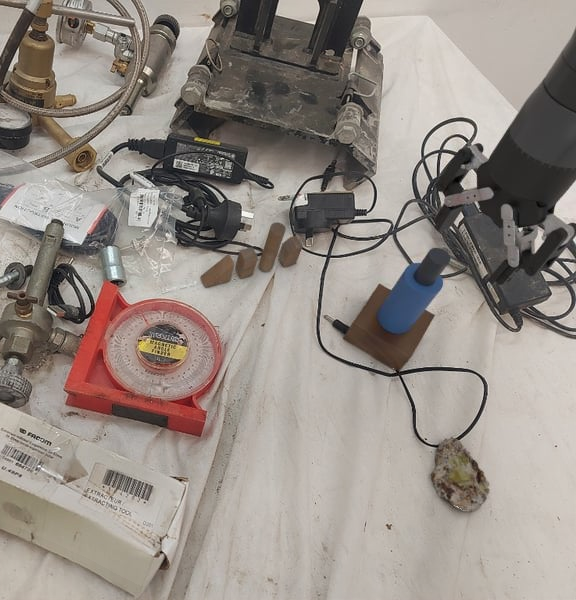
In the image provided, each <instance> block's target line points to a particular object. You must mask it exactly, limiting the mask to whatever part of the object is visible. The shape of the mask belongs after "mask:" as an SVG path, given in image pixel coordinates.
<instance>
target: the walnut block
mask: <svg viewBox="0 0 576 600" xmlns="http://www.w3.org/2000/svg"><path fill="white" fill-rule="evenodd" d="M391 290H392V289H391V288H388V287H387V286H385V285H383V284H382V283H378V284H377V286H376V288H375V289H374V290H373V292H372V293H371V294H370V296H369V298H368V299H367V300H366V302H365V303H364V305H363V306H362V308H361V310H359V313H358V314H357V315H356V317H355V319H354V320H353V321H352V323H351V324H350V326H349V328H348V330H347V331H346V333H345V335H344V336H343V340H344V341H346V342H348V343H349V344H350V345H353V346H354V347H356V348H357V349H359V350H361V351H363V352H364V353H366V354H367V355H369V356H371V357H372V358H374V359H375V360H377V361H379V363H381V364H384V365H385V366H386V367H388V368H390V369H392V368H394V369H395V370H397V371H399V372H401V370H402V369H403V368H404V367H405V366H406V364H407V363H408V361H409V360H411V358H412V357H413V355H414V354H415V351H416V350H417V348H418V347H419V345H420V344H421V341H422V340H423V338H424V336H425V334H426V332H427V331H428V329H429V327H430V325H431V324H432V321H433V320H434V319H435V317H436V315H435V313H432V312H430V311H429V310H427V309H425V311H424V312H423V313H422V314H421V316H420V317H419V318H418V319H417V321H416V322H415V323H414V325H413V326H412V327H411V328H410V330H409V331H407V332H405V333H402V334H395V333H392V332H389V331H387V330H386V329H384V328H383V327H382V326H381V325H380V323H379V321H378V319H377V312H378V310H379V308H380V307H381V305H382V304H383V302H384V301H385V299H386V297H387V296H388V294H389V293H390V291H391ZM395 370H394V371H395ZM397 371H396V372H397Z"/></svg>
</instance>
